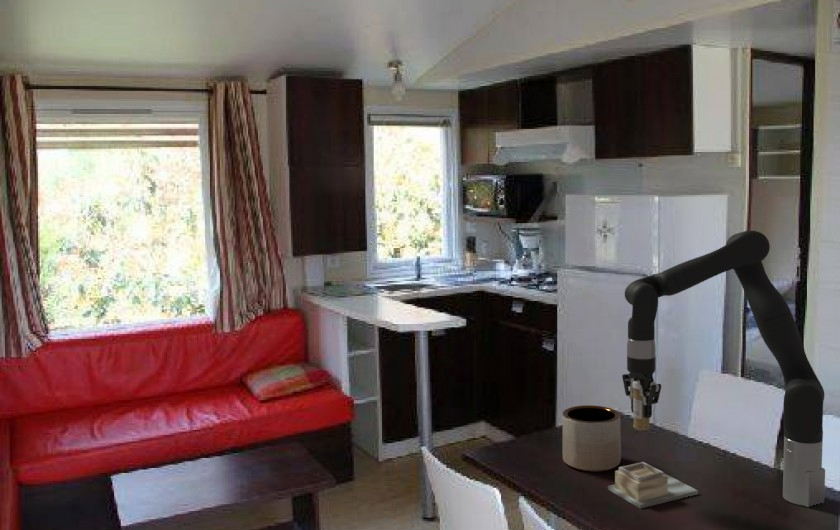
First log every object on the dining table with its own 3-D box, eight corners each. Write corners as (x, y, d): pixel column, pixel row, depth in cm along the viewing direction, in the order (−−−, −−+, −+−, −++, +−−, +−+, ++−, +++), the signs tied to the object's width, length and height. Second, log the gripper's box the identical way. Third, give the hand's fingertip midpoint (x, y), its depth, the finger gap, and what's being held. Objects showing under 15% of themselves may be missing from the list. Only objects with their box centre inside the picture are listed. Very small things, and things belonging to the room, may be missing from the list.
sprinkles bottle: (652, 430, 206) (652, 382, 205) (637, 431, 206) (636, 383, 204) (645, 424, 211) (645, 377, 209) (630, 425, 210) (629, 379, 209)
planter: (622, 474, 225) (622, 423, 223) (562, 471, 228) (561, 421, 226) (619, 452, 242) (619, 405, 240) (563, 450, 246) (562, 404, 244)
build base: (698, 494, 209) (698, 469, 209) (640, 508, 202) (640, 482, 201) (663, 476, 222) (663, 452, 221) (607, 489, 215) (607, 465, 214)
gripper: (670, 358, 201) (670, 420, 203) (635, 347, 214) (635, 406, 216) (647, 361, 198) (647, 424, 200) (613, 350, 211) (614, 410, 213)
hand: (641, 414), depth 208 cm, fingers closed on sprinkles bottle, 4 cm apart
